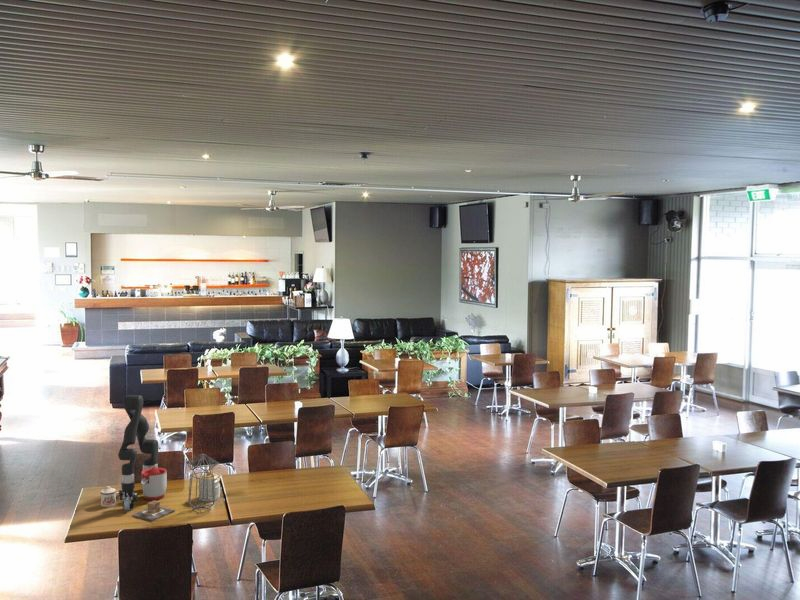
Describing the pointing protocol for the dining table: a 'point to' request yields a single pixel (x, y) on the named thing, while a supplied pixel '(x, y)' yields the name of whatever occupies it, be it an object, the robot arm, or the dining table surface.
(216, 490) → the jar
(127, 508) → the pale blue rounded ovoid
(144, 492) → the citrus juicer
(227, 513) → the dining table surface
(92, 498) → the dining table surface
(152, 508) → the walnut block
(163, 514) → the building board
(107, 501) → the teacup with lid
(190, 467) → the geometric lantern
